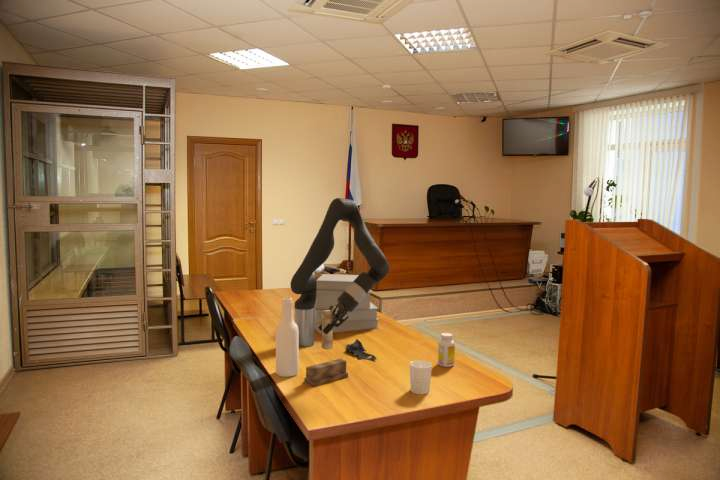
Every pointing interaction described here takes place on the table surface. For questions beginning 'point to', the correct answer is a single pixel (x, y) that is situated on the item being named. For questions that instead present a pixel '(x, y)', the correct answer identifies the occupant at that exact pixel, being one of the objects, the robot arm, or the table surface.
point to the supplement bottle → (446, 350)
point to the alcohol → (287, 342)
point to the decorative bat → (359, 350)
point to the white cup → (420, 377)
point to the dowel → (328, 339)
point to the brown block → (326, 372)
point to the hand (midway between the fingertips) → (322, 331)
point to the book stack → (328, 295)
